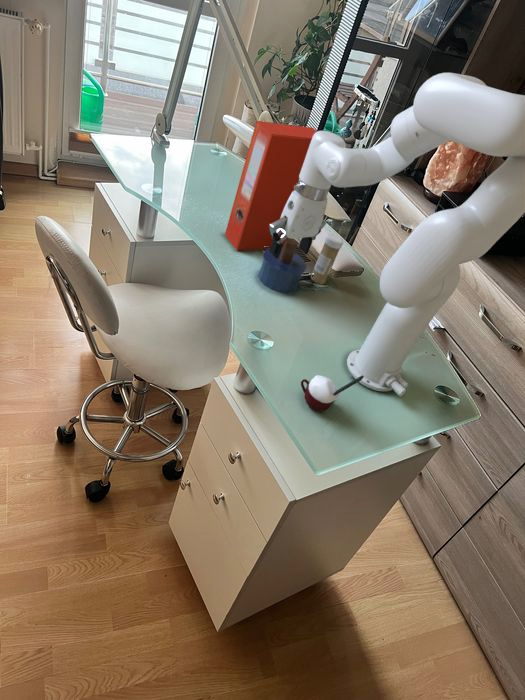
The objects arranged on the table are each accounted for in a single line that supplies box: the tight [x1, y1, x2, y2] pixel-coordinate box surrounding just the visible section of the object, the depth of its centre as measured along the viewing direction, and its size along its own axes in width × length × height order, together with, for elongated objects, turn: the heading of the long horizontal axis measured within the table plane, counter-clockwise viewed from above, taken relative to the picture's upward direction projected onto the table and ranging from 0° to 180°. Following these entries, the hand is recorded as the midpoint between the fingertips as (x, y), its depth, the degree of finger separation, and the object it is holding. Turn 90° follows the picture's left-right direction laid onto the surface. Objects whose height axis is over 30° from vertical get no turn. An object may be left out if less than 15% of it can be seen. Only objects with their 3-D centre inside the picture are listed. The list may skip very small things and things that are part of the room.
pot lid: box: [262, 238, 307, 275], centre depth 125 cm, size 11×11×7 cm
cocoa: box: [300, 374, 364, 412], centre depth 97 cm, size 10×6×12 cm, turn 34°
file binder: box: [224, 120, 318, 251], centre depth 133 cm, size 8×17×32 cm, turn 121°
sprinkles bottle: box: [310, 233, 344, 285], centre depth 133 cm, size 5×5×14 cm
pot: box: [258, 259, 304, 294], centre depth 128 cm, size 10×10×6 cm
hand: (288, 253), depth 125 cm, fingers open, 9 cm apart
